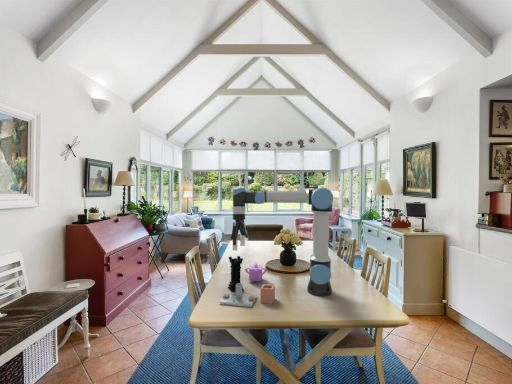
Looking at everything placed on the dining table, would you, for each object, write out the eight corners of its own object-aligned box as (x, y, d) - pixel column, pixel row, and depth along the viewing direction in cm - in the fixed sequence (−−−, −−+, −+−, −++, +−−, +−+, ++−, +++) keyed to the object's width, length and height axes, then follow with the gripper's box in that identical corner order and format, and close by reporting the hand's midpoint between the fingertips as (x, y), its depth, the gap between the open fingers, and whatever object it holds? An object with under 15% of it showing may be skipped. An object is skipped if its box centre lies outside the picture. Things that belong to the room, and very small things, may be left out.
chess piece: (227, 287, 181) (227, 256, 180) (239, 286, 184) (239, 255, 183) (231, 292, 173) (231, 259, 173) (243, 290, 176) (243, 258, 176)
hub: (274, 298, 164) (274, 285, 163) (272, 303, 157) (272, 289, 157) (262, 297, 165) (263, 284, 165) (260, 302, 158) (260, 288, 158)
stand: (256, 297, 165) (257, 281, 165) (251, 307, 152) (251, 289, 151) (227, 294, 169) (227, 279, 169) (219, 304, 156) (219, 287, 155)
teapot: (270, 281, 193) (270, 265, 193) (255, 285, 185) (255, 269, 185) (256, 275, 205) (256, 261, 205) (241, 279, 197) (241, 264, 197)
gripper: (240, 211, 184) (239, 243, 185) (225, 215, 160) (225, 252, 161) (250, 211, 182) (250, 244, 183) (237, 215, 158) (237, 252, 159)
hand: (238, 248), depth 172 cm, fingers open, 13 cm apart
